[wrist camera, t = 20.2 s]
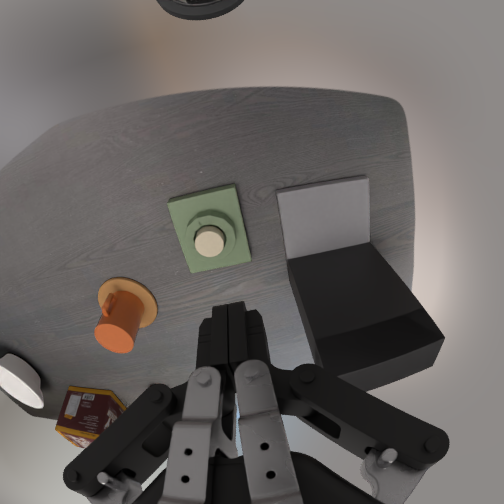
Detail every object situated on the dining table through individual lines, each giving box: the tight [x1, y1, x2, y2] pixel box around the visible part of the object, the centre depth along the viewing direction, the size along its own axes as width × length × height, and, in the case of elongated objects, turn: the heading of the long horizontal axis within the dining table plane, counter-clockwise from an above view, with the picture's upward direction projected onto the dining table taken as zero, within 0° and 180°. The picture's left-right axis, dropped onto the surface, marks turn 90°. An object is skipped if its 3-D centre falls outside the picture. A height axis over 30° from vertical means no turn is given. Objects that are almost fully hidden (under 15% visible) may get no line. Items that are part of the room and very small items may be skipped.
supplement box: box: [55, 386, 127, 448], centre depth 53 cm, size 10×15×16 cm
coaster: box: [98, 277, 158, 328], centre depth 43 cm, size 11×11×1 cm
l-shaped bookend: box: [276, 176, 445, 392], centre depth 30 cm, size 15×13×22 cm
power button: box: [195, 226, 224, 257], centre depth 35 cm, size 4×4×2 cm
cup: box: [94, 291, 144, 353], centre depth 39 cm, size 8×6×8 cm
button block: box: [167, 184, 252, 273], centre depth 36 cm, size 11×9×4 cm
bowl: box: [0, 354, 44, 408], centre depth 50 cm, size 21×21×8 cm
